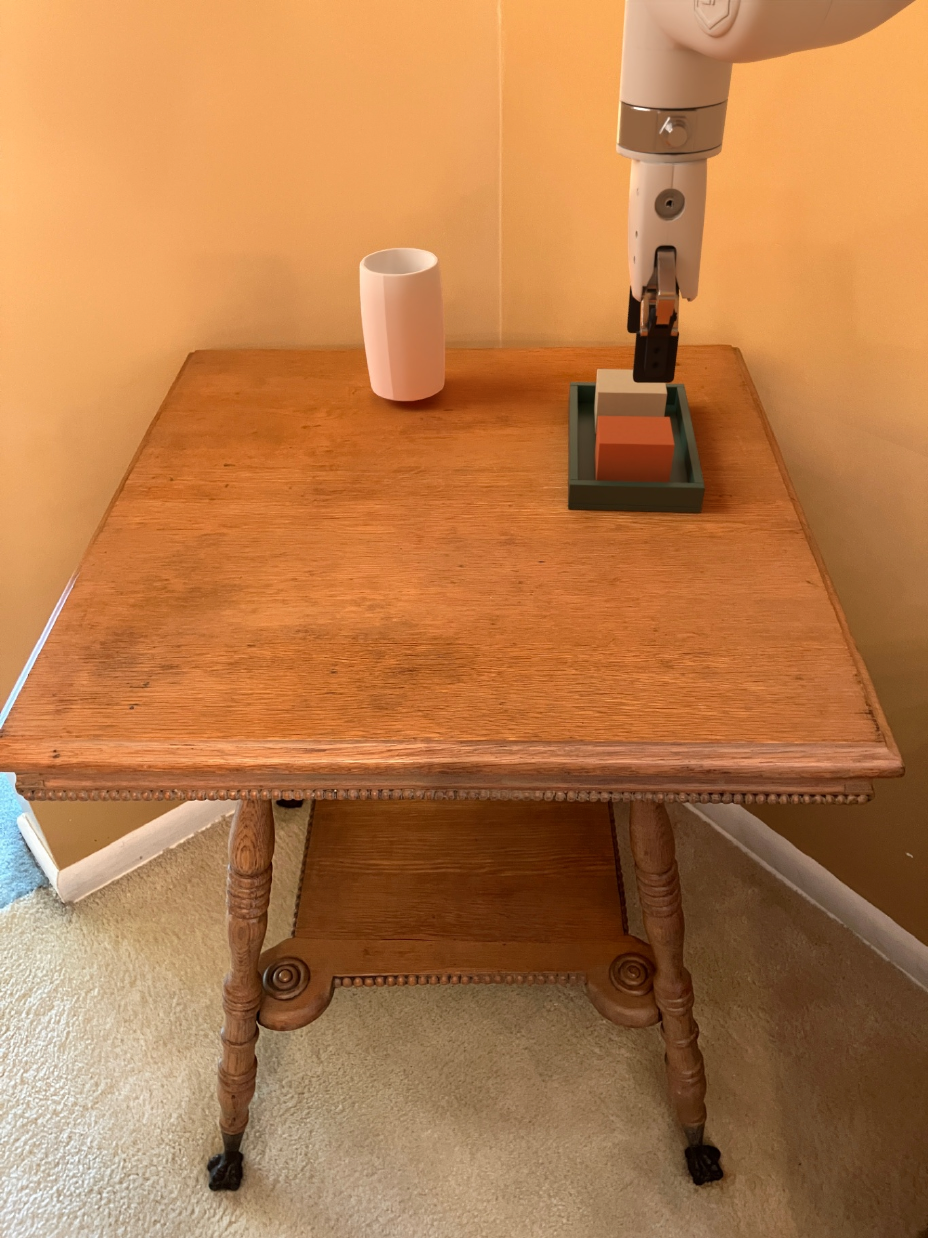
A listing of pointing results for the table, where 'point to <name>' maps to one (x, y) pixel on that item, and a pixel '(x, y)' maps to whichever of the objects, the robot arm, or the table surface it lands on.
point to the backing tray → (627, 495)
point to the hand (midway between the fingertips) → (648, 355)
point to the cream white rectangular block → (627, 395)
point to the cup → (403, 323)
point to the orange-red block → (633, 449)
